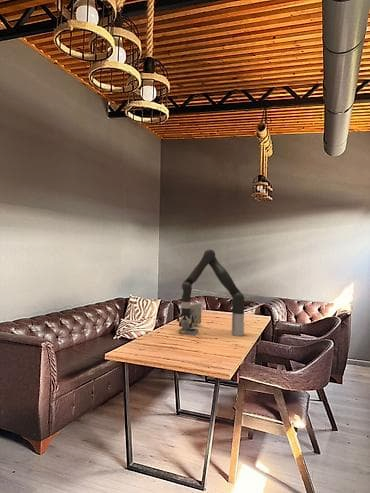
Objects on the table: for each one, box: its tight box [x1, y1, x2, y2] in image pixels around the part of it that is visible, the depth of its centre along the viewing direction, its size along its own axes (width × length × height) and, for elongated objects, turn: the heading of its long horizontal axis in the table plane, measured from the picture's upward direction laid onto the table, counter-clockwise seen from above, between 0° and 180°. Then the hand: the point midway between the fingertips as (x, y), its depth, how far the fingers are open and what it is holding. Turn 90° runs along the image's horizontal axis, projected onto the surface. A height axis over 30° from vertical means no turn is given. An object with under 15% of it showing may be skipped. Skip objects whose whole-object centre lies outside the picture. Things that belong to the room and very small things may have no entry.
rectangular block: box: [181, 322, 189, 330], centre depth 313 cm, size 3×6×7 cm, turn 158°
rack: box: [178, 328, 199, 336], centre depth 312 cm, size 13×10×3 cm
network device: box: [180, 302, 202, 329], centre depth 334 cm, size 26×9×20 cm, turn 146°
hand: (185, 327), depth 313 cm, fingers open, 8 cm apart
